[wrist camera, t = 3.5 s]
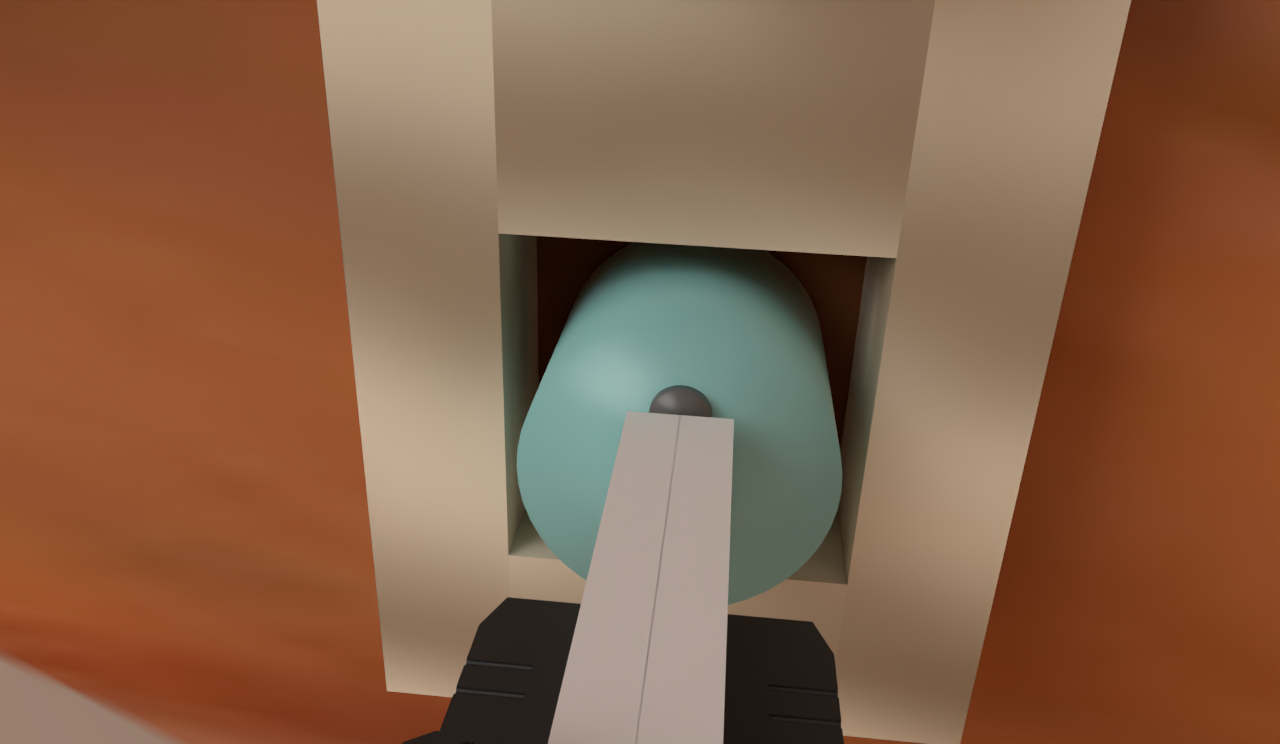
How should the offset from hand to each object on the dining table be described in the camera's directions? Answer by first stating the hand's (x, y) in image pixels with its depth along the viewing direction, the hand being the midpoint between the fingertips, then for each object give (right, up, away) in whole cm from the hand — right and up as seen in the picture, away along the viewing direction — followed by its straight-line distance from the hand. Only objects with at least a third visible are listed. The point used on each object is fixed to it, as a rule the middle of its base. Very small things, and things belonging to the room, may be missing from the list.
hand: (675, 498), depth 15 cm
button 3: (+1, +2, +4) cm, 5 cm away
